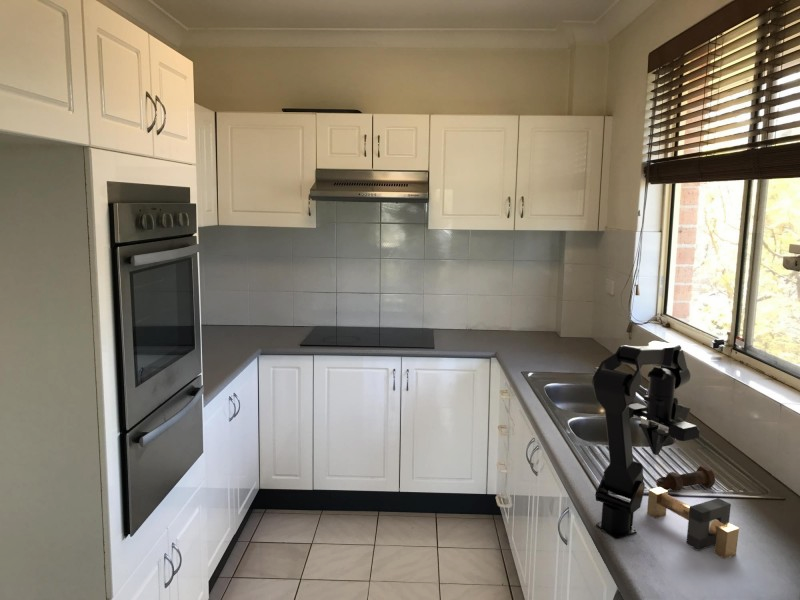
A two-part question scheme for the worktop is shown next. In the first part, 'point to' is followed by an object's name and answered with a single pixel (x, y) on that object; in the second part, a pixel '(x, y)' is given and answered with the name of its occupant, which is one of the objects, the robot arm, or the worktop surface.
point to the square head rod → (662, 500)
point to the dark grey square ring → (705, 522)
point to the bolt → (687, 479)
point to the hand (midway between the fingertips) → (655, 454)
